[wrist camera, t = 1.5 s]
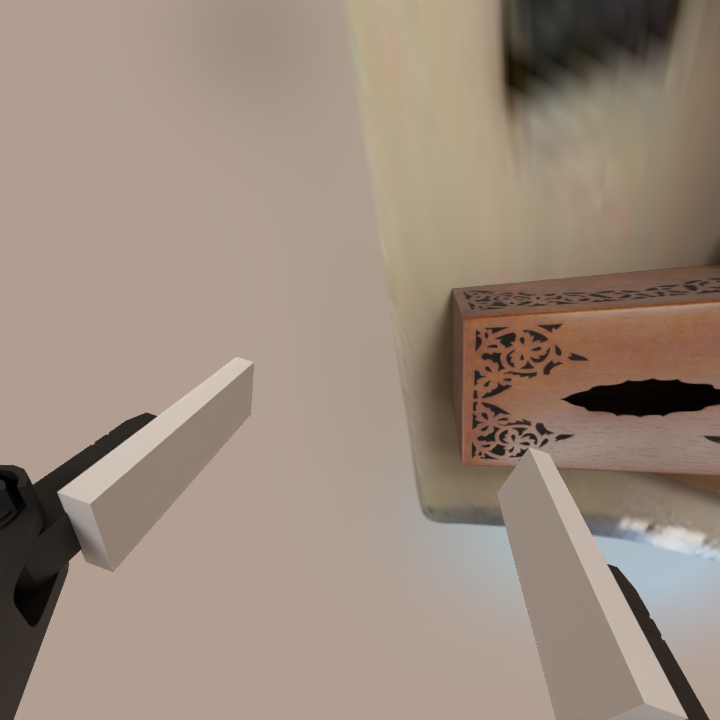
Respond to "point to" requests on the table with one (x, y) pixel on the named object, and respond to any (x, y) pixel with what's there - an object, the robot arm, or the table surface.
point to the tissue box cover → (591, 371)
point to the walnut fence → (696, 480)
